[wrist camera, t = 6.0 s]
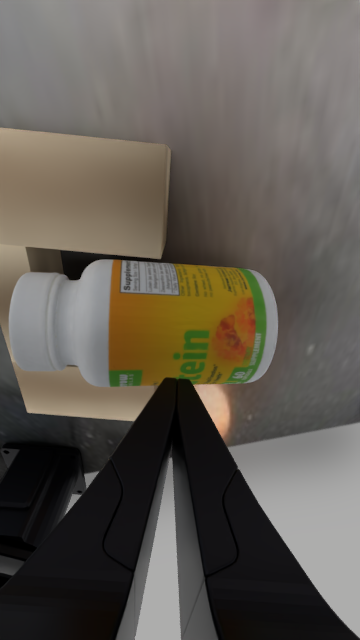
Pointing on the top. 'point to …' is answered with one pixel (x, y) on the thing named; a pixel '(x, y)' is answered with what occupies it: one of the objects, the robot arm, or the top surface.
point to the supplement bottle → (146, 323)
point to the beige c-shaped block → (77, 238)
